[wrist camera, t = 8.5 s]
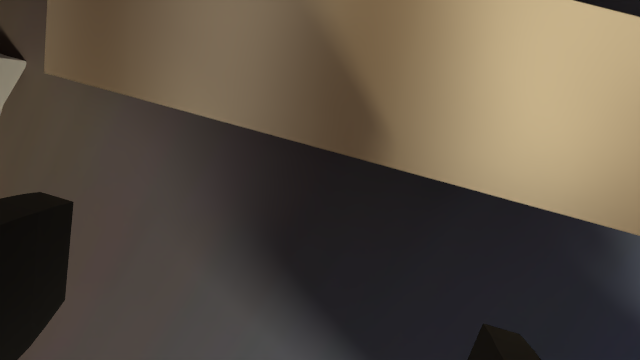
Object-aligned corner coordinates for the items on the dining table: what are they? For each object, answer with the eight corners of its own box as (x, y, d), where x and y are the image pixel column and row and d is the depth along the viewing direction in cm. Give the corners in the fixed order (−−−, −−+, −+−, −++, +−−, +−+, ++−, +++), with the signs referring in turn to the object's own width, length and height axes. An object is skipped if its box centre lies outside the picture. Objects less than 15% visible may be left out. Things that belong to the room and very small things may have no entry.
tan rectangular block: (677, 26, 15) (796, 57, 10) (611, 167, 16) (690, 249, 12) (159, -106, 16) (53, -132, 11) (143, 41, 17) (44, 72, 12)
